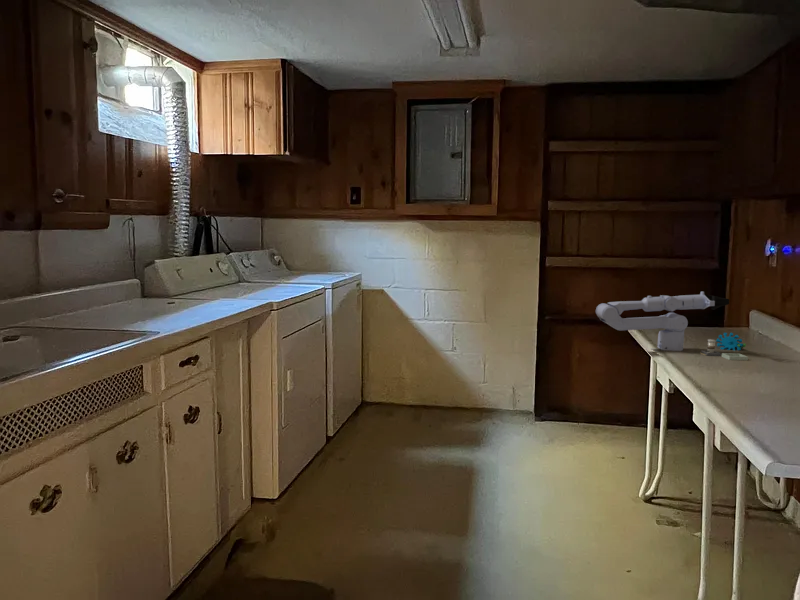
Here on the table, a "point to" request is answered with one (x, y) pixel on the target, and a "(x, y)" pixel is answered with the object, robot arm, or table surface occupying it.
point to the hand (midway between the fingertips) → (724, 300)
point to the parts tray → (734, 356)
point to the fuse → (711, 346)
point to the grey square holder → (710, 353)
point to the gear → (730, 342)
